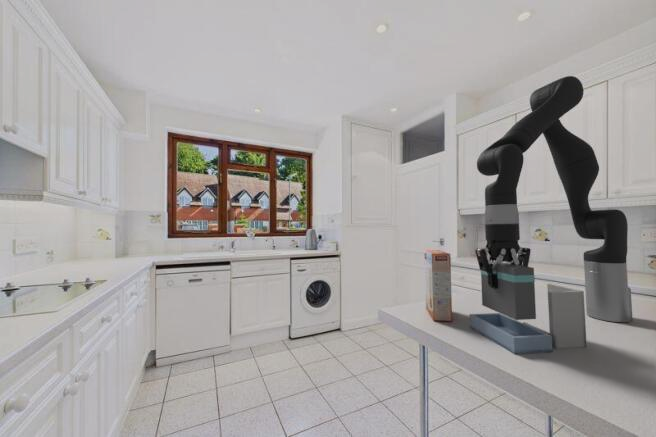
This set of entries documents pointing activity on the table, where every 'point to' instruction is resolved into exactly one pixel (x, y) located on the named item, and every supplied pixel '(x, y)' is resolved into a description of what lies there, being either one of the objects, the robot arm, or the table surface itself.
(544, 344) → the tray
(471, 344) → the table surface
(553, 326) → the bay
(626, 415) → the table surface
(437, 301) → the cracker box
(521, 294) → the teal-striped grey block
